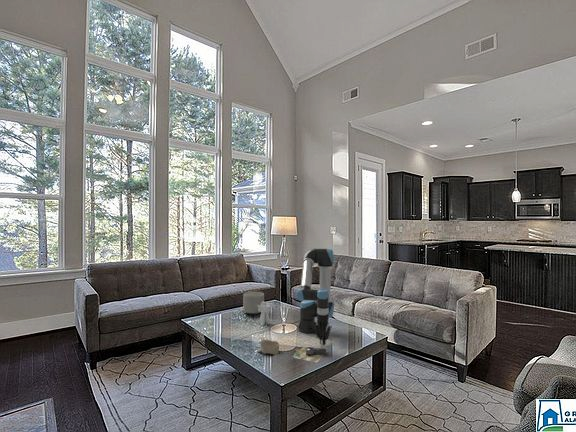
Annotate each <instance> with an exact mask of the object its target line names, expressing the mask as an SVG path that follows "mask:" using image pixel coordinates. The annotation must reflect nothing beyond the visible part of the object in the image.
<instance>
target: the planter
mask: <svg viewBox="0 0 576 432" xmlns="http://www.w3.org/2000/svg"><path fill="white" fill-rule="evenodd" d="M242 295H243V298H242V299H243V301H242V304H243V305H242V306H243V312H244V313H246V314H249V315H251V316H254V315H256V316H257V315H258V314H261V312H260V311H258V309H259V308H258V306H257V305H260V304H261V302H265V293H264V292H262V291H248V292H244V293H243V294H242Z"/></svg>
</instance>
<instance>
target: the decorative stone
mask: <svg viewBox="0 0 576 432" xmlns="http://www.w3.org/2000/svg"><path fill="white" fill-rule="evenodd" d="M259 344H260V347H259V348H257V353H262V354H264V355H265V354H267V355H268V354H270V355H274V356H275V355H278V354H279V350H280V344H279V342H278V341H276V340H269V339H264V338H263V339H261V340H260V341H259Z"/></svg>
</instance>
